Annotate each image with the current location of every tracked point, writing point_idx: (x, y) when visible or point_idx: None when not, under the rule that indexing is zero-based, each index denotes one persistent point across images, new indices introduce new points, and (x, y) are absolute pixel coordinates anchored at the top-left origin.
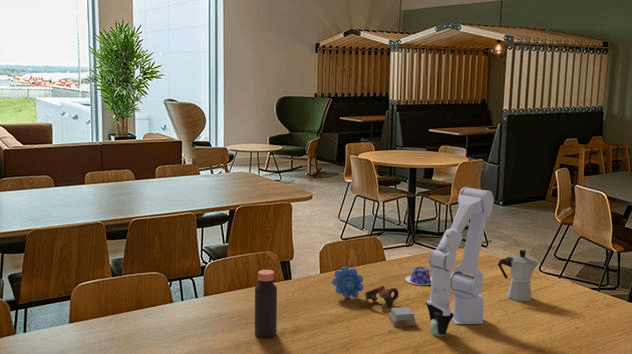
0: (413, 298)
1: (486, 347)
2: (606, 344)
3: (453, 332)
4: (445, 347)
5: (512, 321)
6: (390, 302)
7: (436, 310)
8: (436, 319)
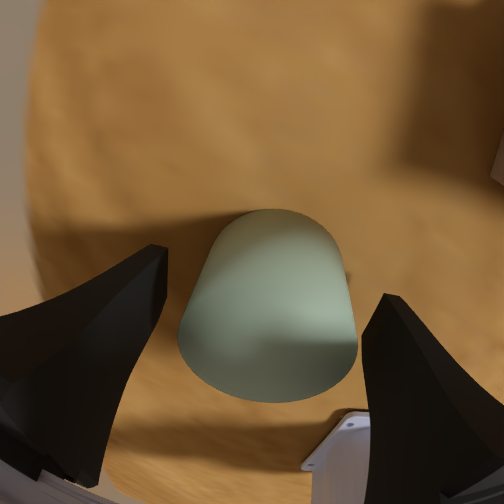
0: None
1: None
2: (130, 492)
3: None
4: (36, 198)
5: (283, 494)
6: None
7: (396, 444)
8: (328, 362)
